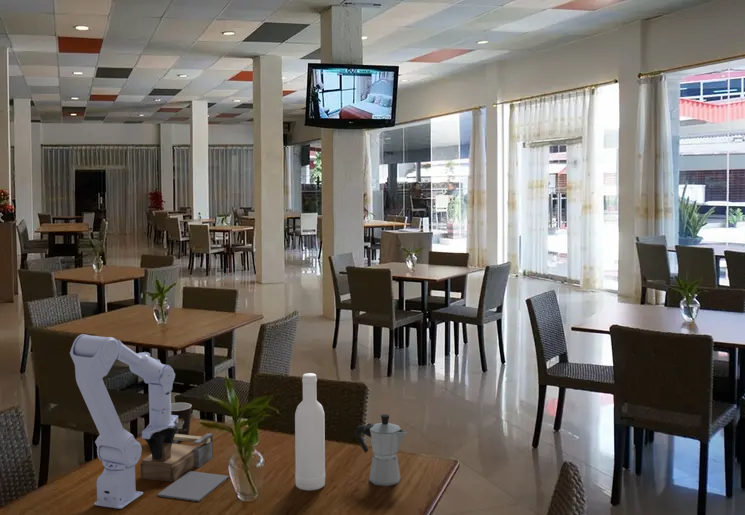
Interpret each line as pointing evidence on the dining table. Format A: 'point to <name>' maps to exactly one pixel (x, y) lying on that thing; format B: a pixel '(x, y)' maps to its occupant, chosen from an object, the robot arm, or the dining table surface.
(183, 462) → the toolbox
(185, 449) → the toolbox lid
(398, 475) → the coffee maker
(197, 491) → the lid mat
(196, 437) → the bar
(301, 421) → the bottle
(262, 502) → the dining table surface
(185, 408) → the coffee mug
